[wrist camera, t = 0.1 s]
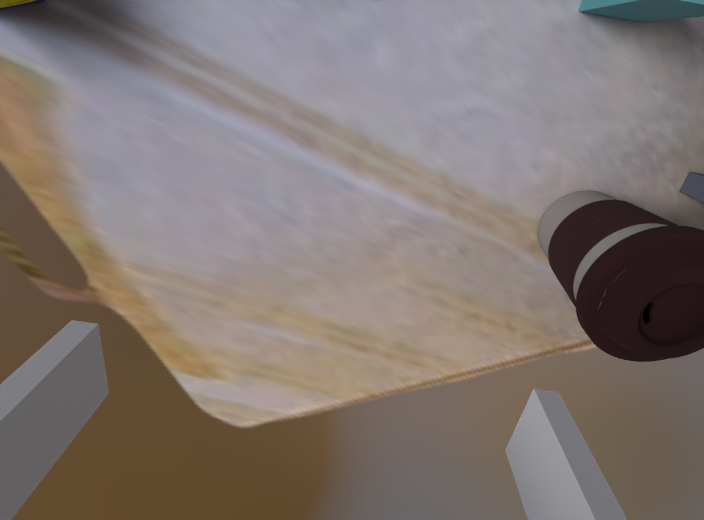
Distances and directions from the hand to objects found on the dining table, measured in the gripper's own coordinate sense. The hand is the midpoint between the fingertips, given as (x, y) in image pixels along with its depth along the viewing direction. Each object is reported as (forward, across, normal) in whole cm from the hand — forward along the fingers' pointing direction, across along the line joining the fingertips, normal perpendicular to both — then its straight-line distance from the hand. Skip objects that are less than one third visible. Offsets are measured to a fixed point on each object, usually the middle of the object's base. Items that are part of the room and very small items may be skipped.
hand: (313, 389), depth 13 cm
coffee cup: (+28, +22, -2) cm, 35 cm away
